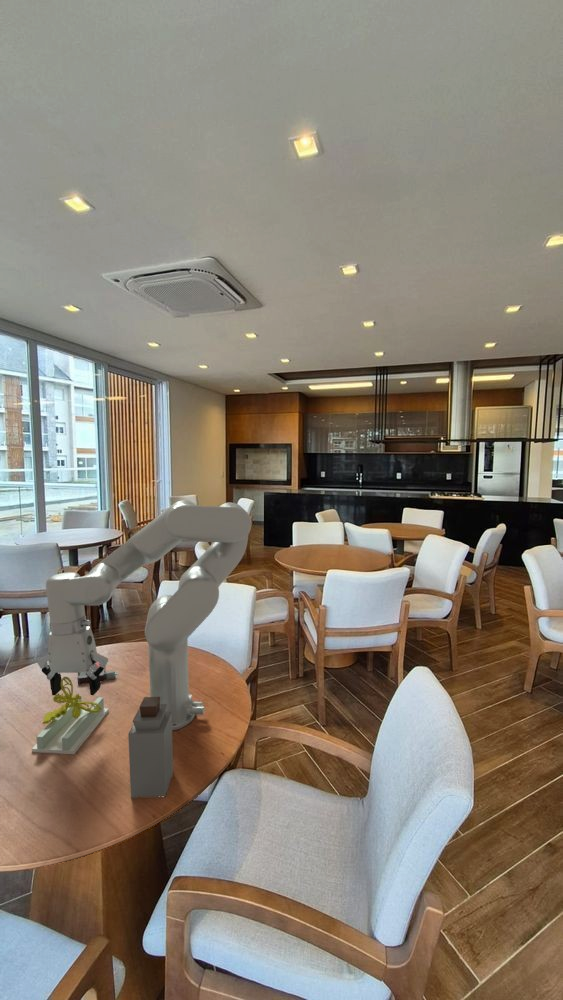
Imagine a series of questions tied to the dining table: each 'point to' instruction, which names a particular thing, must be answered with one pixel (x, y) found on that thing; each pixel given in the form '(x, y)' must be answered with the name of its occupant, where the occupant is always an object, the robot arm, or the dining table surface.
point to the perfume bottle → (151, 749)
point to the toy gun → (104, 675)
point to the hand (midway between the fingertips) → (76, 692)
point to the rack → (69, 730)
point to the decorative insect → (69, 699)
